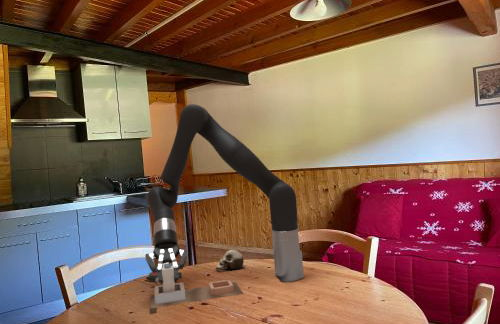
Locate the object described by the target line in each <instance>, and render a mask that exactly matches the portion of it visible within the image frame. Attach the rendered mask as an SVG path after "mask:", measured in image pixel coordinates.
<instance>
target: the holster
mask: <svg viewBox="0 0 500 324" xmlns="http://www.w3.org/2000/svg"><path fill="white" fill-rule="evenodd" d="M232 283H233V282H232V281H231V279H229V280H227V279H223V280H218V281H217V280H216V281H211V282H209V283H208V286H209V290H210V292H211V295H220V294H227V293H231V292H234V288H233V284H232Z"/></svg>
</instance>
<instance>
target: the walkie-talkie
mask: <svg viewBox="0 0 500 324" xmlns="http://www.w3.org/2000/svg"><path fill="white" fill-rule="evenodd" d="M178 278H179V279H182V278H183V275H182V272H180V271H178ZM146 280H147V281H148V280H149V282H153V283H159V282H158V273H156V272H155V273H153V272H152V271H151V272H149V274H148V276H146Z"/></svg>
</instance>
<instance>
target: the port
mask: <svg viewBox="0 0 500 324" xmlns="http://www.w3.org/2000/svg"><path fill="white" fill-rule="evenodd" d="M185 290H186V289H185V284H184V282H175V291H173V292H166V293H163V284H160V285H154V294H155V306H156V305H163V304H169V303H176V302H182V301H186V298H185Z"/></svg>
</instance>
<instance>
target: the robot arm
mask: <svg viewBox="0 0 500 324" xmlns="http://www.w3.org/2000/svg"><path fill="white" fill-rule="evenodd" d="M197 134H198V135H199V136H201V137H202V138H203V139H205V140H206V141H207V142H208V143H209V144H210V145H211V146H212V147H213V150H215V152H217V154H218V156H219V157H220V158H221V159H222V160H223V162H224V163H225V164H226V165H228V166H229V167H230V168H231V169H232V170H233V171H235V172H236V173H237V174H238V175H239V176H241V177H242V178H244V179H245V180H247V181H248V182H250V183H252V184H253V185H255V186H256V187H257V188H258V189H260V191H262V193H263V194H264V195H265V196H266V197H267V198H268V202H269V211H270V212H269V213H270V215H269V216H270V222H271V223H270V224H271V225H270V226H271V235H272V249H273V250H272V251H273V262H274V263H273V264H274V265H273V266H274V275H275V278H276V279H278V281H280V282H287V283H288V282H296V281H299V280H301V279H304V278H305V277H304V276H305V275H304V265H303V264H304V263H303V251H302V250H301V249H300V237H299V226H298V224H299V223H298V222H299V220H298V217H299V216H298V204H297V194H296V192H295V189H294V188H293V187H292V186H291V185H289V184H288V183H287V182H285V181H284V180H282V179H281V178H279V177H278V176H277V175H275V174H274V173H273V172H272V171H271V170H269V169H268V167H267V166H266V165H265V164H264V163H263V161H261V159H260V158H259V157H258V156H257V155H256V154H255V153H254V152H253V151H252V150H251V149H250V148H248V146H246V145H245V144H244V143H243V142H242V141H241V140H239V138H237V137H235V135H233V134H231V133H230V132H229V131H227V129H226V130H225V128H223V127H222V126H221V125H220V124H219V123H218V122H217V120H215V118H214V117H213V116H212V115H211V114H210V113H209V112H208V110H207V109H206V108H204V107H203V106H201V105H198V104H195V103H194V104H193V103H192V104H191V103H190V104H187V105H186V106H184V107H183V108H182V110H181V112H180V115H179V120H178V124H177V130H176V133H175V137H174V140H173V144H172V147H171V149H170V153H169V154H168V157H167V160H166V161H165V162H166V163H165V165H164V167H163V170H162V172H161V175H160V179H161V181H163V182H164V183H165V184H167V185H169V188H165V187H161V186H153V187H151V188H150V189H149V190H148V194H147V202H148V206H149V209H150V211H151V213H152V216H153V247H154V249H153V251H152V253H150V254H149V253H146V254H145V257H144V258H145V261H146V264H147V265H148V267H149V270H150V271H151V272H153V273H155V272H156V273H158V282H157V283H160V285H163V276H162V267H164V264H171V266H172V265H173V268H174V282H175V283H177V281H178V280H180V278H178V272H179V270H183V269H184V267H185V264H186V261H187V258H188V251H189V250H188V249H187V248H184V249H180V247H179V244H178V235H177V226H176V222H175V221H176V219H175V213H174V210H173V208H174V207H175V206H176V205H177V203H178V199H179V198H178V197H179V196H178V195H179V187H180V183H181V179H182V177H183V174H184V173H185V172H184V171H185V169H186V166H187V163H188V160H189V154H190V149H191V147H192V143H193V141H194V138H195V137H196V135H197ZM178 256H180V261H179V263H178V262H177V258H178ZM154 258H155V259H156V260H157V261H158V264H157V266H156V264H155V262H154Z"/></svg>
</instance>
